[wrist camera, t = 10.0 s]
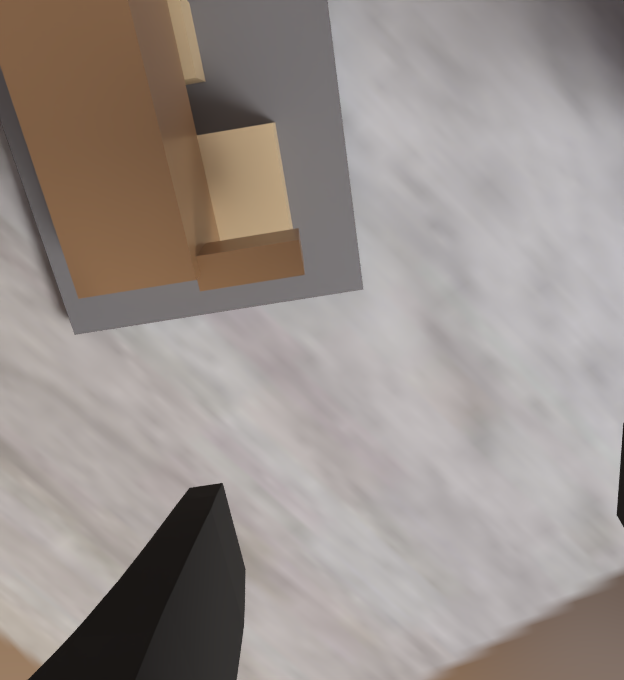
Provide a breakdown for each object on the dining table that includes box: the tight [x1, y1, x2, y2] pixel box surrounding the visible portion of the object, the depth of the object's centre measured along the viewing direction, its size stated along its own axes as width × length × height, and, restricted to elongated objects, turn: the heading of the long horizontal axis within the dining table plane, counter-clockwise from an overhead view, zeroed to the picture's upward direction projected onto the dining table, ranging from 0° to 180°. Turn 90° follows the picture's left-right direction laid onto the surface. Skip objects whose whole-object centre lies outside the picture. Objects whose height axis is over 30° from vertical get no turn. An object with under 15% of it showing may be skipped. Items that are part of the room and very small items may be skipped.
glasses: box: [0, 0, 305, 299], centre depth 11 cm, size 5×12×4 cm, turn 9°
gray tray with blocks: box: [0, 0, 363, 335], centre depth 15 cm, size 10×16×3 cm, turn 9°
